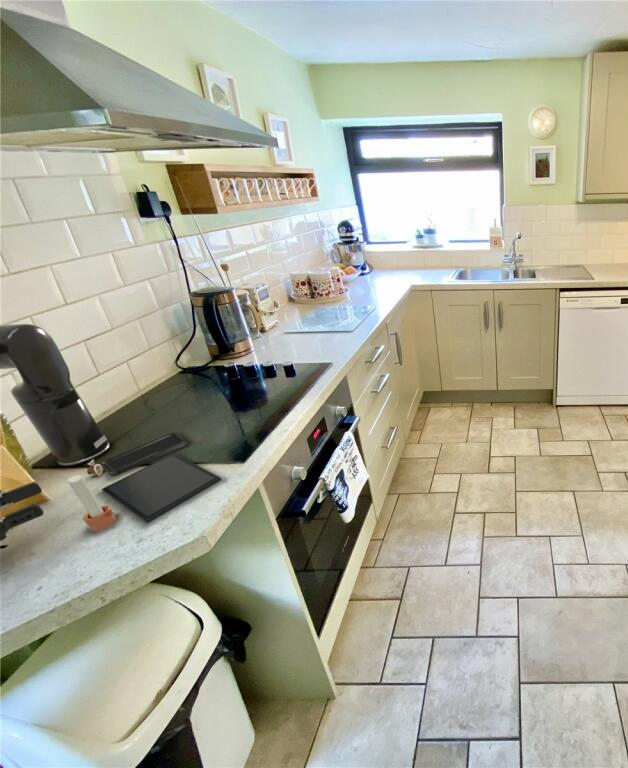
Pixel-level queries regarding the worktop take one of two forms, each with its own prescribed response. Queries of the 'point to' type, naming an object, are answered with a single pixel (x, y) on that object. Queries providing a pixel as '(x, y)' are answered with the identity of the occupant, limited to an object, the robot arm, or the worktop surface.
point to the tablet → (160, 487)
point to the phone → (143, 454)
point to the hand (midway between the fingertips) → (40, 497)
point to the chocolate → (95, 469)
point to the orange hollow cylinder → (100, 519)
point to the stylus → (85, 496)
